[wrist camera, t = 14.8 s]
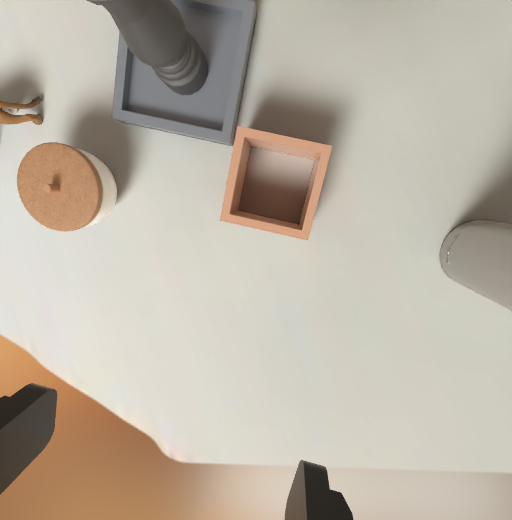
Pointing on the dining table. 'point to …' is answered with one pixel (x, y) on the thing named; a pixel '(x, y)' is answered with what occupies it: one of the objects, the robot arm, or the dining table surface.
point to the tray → (217, 83)
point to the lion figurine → (7, 118)
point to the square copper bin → (282, 145)
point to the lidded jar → (65, 187)
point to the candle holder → (160, 41)
